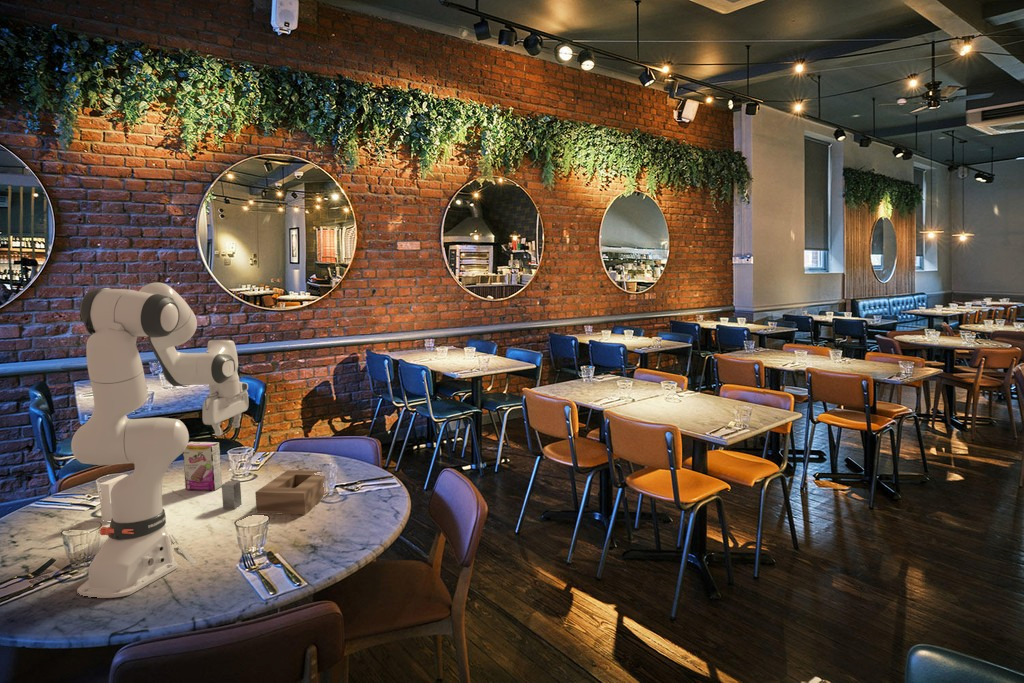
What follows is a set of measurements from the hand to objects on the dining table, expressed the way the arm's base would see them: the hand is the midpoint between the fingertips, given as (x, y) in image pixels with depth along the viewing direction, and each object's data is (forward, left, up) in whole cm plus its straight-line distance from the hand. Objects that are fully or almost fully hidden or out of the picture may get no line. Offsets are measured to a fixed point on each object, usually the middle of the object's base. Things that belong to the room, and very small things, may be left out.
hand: (227, 431), depth 199 cm
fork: (-33, -5, -26) cm, 42 cm away
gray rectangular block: (0, 0, -25) cm, 25 cm away
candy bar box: (+16, +20, -25) cm, 36 cm away
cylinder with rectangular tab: (-10, +32, -25) cm, 42 cm away
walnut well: (+6, -19, -25) cm, 32 cm away
